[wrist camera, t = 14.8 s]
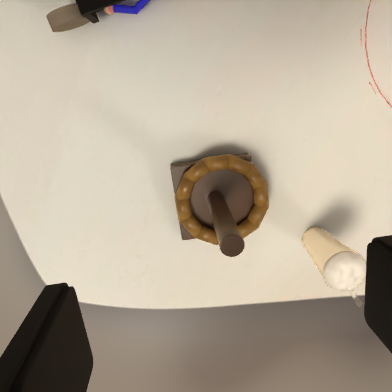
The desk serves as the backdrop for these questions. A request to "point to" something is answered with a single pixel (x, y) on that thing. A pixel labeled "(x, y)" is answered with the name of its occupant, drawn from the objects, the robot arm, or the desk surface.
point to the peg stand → (219, 203)
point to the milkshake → (335, 261)
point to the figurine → (367, 55)
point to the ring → (213, 165)
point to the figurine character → (88, 12)
